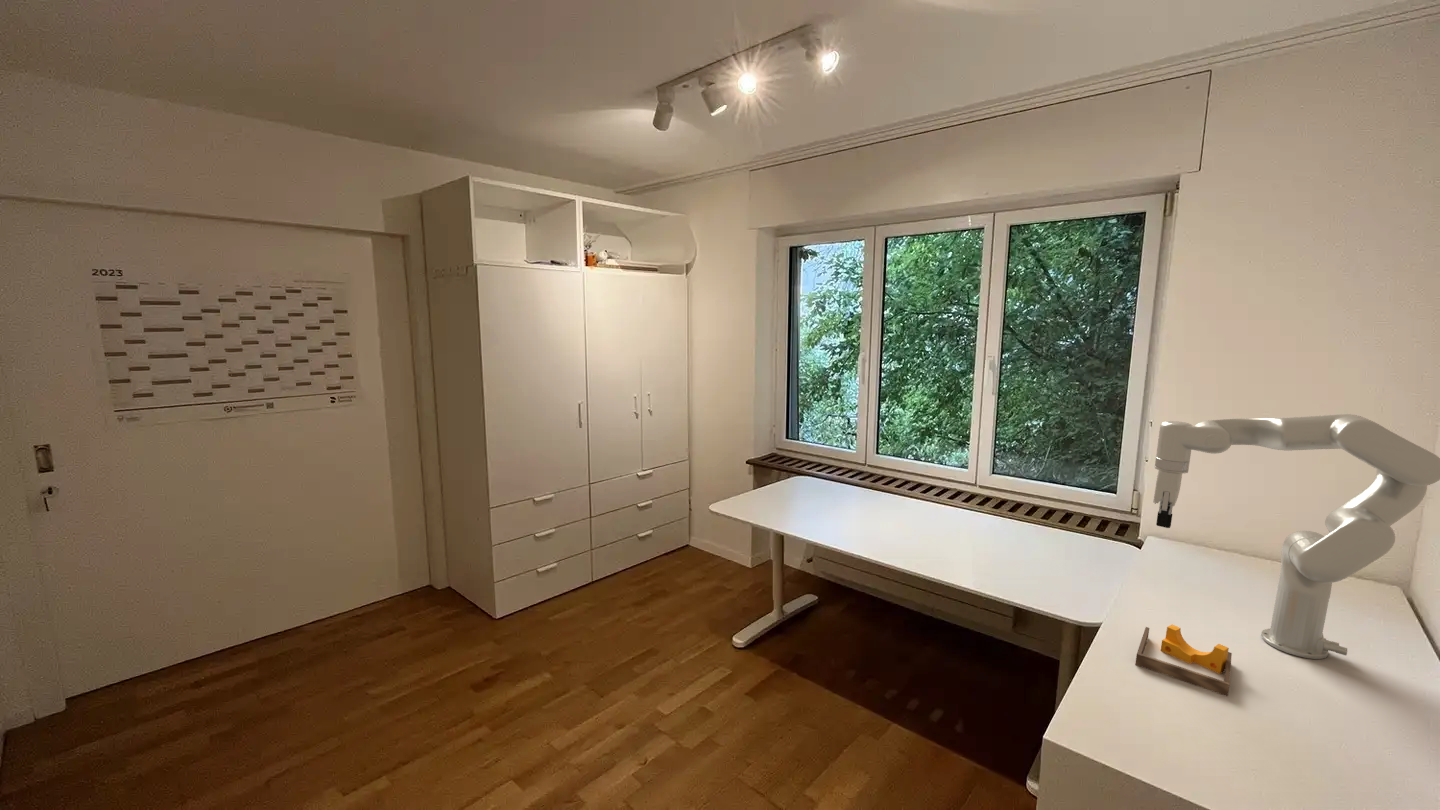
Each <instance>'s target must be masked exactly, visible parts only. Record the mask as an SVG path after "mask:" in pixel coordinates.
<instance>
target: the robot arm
mask: <svg viewBox="0 0 1440 810" xmlns="http://www.w3.org/2000/svg"><path fill="white" fill-rule="evenodd" d="M1231 446H1256V447H1263V448H1267V449H1271V450H1277V451H1288V452H1289V451H1291V452H1292V451H1309V450H1310V451H1311V450H1313V451H1314V450H1338V449H1339V450H1343V451H1345V452H1347V453H1348V454H1350V455H1352V456H1353V457H1355V458H1357V459H1358V460H1360V461H1362V462H1363V463H1364V464H1367V465H1368V466H1370V467H1373V469H1375V470H1376V475H1375V476H1374V477H1375V478H1374V479H1373V481H1372V483H1370V485H1368V487H1366V488H1364V489H1363V490H1362V491H1361V492H1360V493H1358V494H1357V495H1355V496H1354V497H1352V498H1351V499H1349V500H1348V501H1346V502H1344V503H1343V504H1342V505H1340V506H1338V507H1336V508H1335V509H1334V510H1332V511H1331V512H1330V513H1328V514H1327V516H1326V517H1325V519H1324V520H1325V521H1324V525H1325V527H1326V529H1327V530H1328V531H1329V533H1327V534H1326V535H1323V534H1321V533H1319V532H1316V531H1312V530H1300V531H1299V530H1298V531H1295V532H1292V533H1291V534H1289V535H1288V536H1286V538H1285V539H1284V540H1283V543H1282V546H1281V559H1280V563H1281V564H1280V573H1279V578H1278V583H1277V590H1276V595H1275V601H1274V607H1273V613H1272V617H1271V622H1270V623H1271V625H1270V628H1266V629H1265V628H1264V629H1263V630H1261V633H1260V637H1261V639H1262V640H1263V641H1264V642H1265V643H1267V644H1268V645H1270V646H1271V647H1273V648H1274V649H1276V650H1279V651H1282V652H1284V653H1287V654H1290V655H1292V656H1296V657H1300V658H1305V659H1310V660H1311V659H1312V660H1313V659H1314V660H1323V659H1326V658H1327V657H1328V654H1329V651H1330V652H1333V653H1336V654H1339V655H1343V656H1347V655H1348V647H1345V646H1340V642H1338V641H1337V642H1336V641H1332V640H1329V639H1328V640H1327V638H1325V637H1324V633H1323V632H1324V628H1325V623H1326V617H1327V613H1328V608H1329V602H1330V598H1331V593H1332V588H1333V587H1332V586H1333V583H1336V582H1337V583H1338V582H1340V581H1343V580H1345V579H1347V578H1349V577H1350V576H1352V575H1355V574H1356V573H1357V572H1359V571H1361V570H1362V569H1364V568H1366V567H1368V566H1369V565H1370V564H1372V563H1374V562H1375V561H1378V559H1380V558H1382V557H1383V556H1385V555H1386V554H1387V553H1388V552H1389V551H1391V550H1392V548H1393V546H1394V544H1395V542H1396V535H1395V534H1396V533H1395V531H1394V530H1393V528H1392V526H1393V525H1394V524H1395V523H1397V522H1398V521H1400V520H1401V519H1403V518H1404V517H1405V516H1407V515H1408V514H1409V513H1411V512H1412V511H1414V510H1415V509H1416V508H1417V507H1418V506H1419V505H1420V504H1421V502H1422V501H1423V500H1424V498H1425V496H1426V492H1427V490H1428V486H1429V485H1430V486H1431V485H1433V484H1435V483H1437V482H1439V481H1440V456H1438V455H1437V454H1435V453H1433V452H1431V451H1430V450H1427V449H1425V447H1421V446H1420V445H1417V444H1416V443H1414V442H1412V441H1410V440H1408V439H1406V438H1404V437H1402V436H1400V435H1398V434H1396V433H1395V432H1393V431H1392V430H1390V429H1388V428H1386V427H1384V426H1382V425H1381V424H1379V423H1378V422H1375V421H1373V420H1371V419H1368V418H1366V417H1363V416H1360V415H1357V414H1351V413H1350V414H1348V413H1347V414H1329V415H1327V414H1325V415H1313V416H1310V415H1309V416H1295V417H1262V418H1260V417H1259V418H1254V417H1253V418H1250V417H1249V418H1247V417H1246V418H1242V417H1241V418H1225V419H1224V418H1223V419H1211V420H1210V419H1209V420H1204V421H1200V422H1198V423H1197V424H1195V425H1192V424H1191V423H1189V422H1184V421H1178V420H1166V421H1163V422H1162V423H1161V424H1160V426H1159V431H1158V440H1157V447H1156V455H1155V461H1154V463H1155V464H1154V469H1155V470H1157V471H1158V472H1157V476H1156V477H1157V478H1156V480H1155V481H1156V482H1155V488H1154V495H1153V504H1154V505H1155V504H1159V506H1158V511H1157V517H1156V526H1157V527H1160V528H1161V527H1162V528H1166V529H1170V528H1171V526H1172V520H1173V507H1175V506H1176V503H1177V500H1178V498H1179V495H1180V490H1181V485H1182V479H1183V474H1188V473H1189V467H1190V461H1191V456H1192V455H1191V454H1192V450H1193V451H1195V452H1196V451H1197V452H1202V453H1205V454H1213V455H1215V454H1221V453H1224V452H1226V451H1228V450H1229V449H1230V448H1231Z"/></svg>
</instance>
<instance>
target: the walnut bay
mask: <svg viewBox="0 0 1440 810" xmlns="http://www.w3.org/2000/svg"><path fill="white" fill-rule="evenodd" d="M1149 634H1150V627H1149V626H1148V627H1147V626H1145V627H1144V631H1143V634H1142V637H1141V640H1140V643H1139V646H1138V648H1137V653H1136V657H1135V663H1134V664H1135V665H1136V666H1138V667H1141V668H1145V669H1146V670H1150V671H1153V672H1155V673H1159V674H1161V675H1164V676H1167V677H1170V678H1173V679H1175V680H1179V681H1181V682H1184V683H1188V684H1191V685H1194V686H1195V687H1196V686H1197V687H1199V688H1202V689H1204V690H1208V691H1210V692H1213V693H1216V694H1219V695H1223V696H1225V697H1228V696H1229V693H1230V687H1231V686H1230V685H1231V672H1232V669H1231V668H1232V655H1233V653H1232V652H1229V651H1228V655H1227V661H1226V667H1225V671H1224V679H1223V680H1222V679H1218V678H1215V677H1212V676H1210V675H1206V674H1203V673H1200V672H1197V671H1196V670H1195V671H1194V670H1192V669H1189V668H1185V667H1183V666H1179V665H1176V664H1173V663H1170V662H1168V661H1164V660H1161V659H1157V658H1156V657H1152V656H1150V655H1146V654H1144V651H1145V648H1146V645H1147V643H1148V639H1149Z"/></svg>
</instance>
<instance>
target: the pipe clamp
mask: <svg viewBox="0 0 1440 810" xmlns="http://www.w3.org/2000/svg"><path fill="white" fill-rule="evenodd" d="M1181 632H1182V630H1181V627H1180V626H1177V625H1175V624H1170V625H1168V626H1167V627H1166V632H1165V638H1163V639H1161V644H1160V646H1161V647H1160V651H1161V652H1162V653H1165V654H1167V655H1170V656H1171V657H1173V658H1175V659H1177V660H1180V661H1182V662H1184V663H1187V664H1189V665H1191V664H1193V663H1195V664H1196V665H1199V666H1201V667H1203V668H1205V669H1208V670H1210V671H1212V672H1214V673H1217V674H1220V675H1221V674H1223V673H1225V667H1226V661H1227V655H1228V652H1229V649H1230V648H1229V647H1228V646H1225V645H1224V644H1220V643H1218V644H1217V645H1215V646H1214V647H1213V649H1212V650H1211V651H1207V652H1204V651H1200V650H1197V649H1196V648H1194V647H1192V646H1191V645H1189V643H1187V642H1186V640H1185V639H1184V637H1183V636H1182V633H1181Z"/></svg>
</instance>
